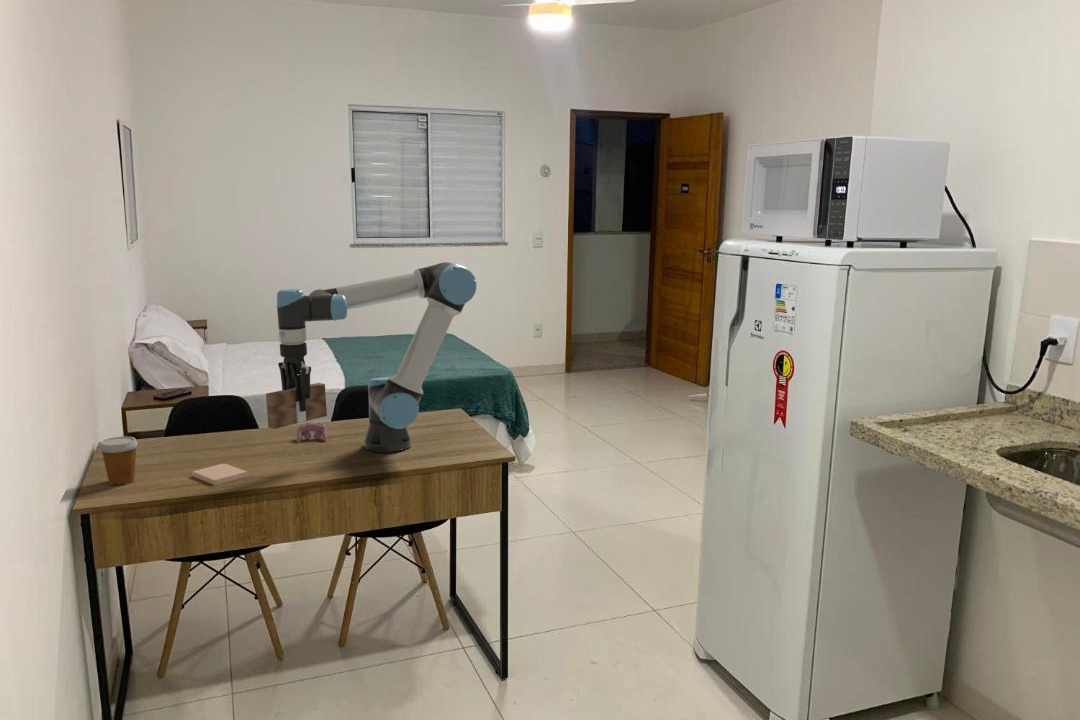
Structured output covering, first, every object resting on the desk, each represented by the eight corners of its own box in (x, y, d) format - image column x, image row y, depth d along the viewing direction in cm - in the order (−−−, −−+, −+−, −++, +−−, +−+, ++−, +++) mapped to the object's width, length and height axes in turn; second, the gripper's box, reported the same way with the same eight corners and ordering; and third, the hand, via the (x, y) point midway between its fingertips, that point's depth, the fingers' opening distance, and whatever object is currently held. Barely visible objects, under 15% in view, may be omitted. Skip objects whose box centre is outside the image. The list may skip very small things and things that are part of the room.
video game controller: (328, 443, 269) (328, 422, 271) (326, 440, 265) (327, 420, 266) (297, 444, 267) (297, 423, 269) (296, 441, 263) (296, 421, 265)
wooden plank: (320, 414, 243) (319, 382, 241) (326, 416, 241) (324, 384, 239) (268, 427, 230) (265, 393, 228) (274, 429, 228) (271, 395, 226)
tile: (224, 463, 237) (192, 471, 229) (247, 471, 229) (214, 480, 222) (224, 469, 237) (192, 478, 229) (247, 478, 230) (215, 487, 222)
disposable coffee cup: (132, 487, 219) (128, 445, 217) (96, 487, 219) (92, 445, 216) (146, 475, 229) (143, 435, 226) (112, 476, 228) (108, 436, 226)
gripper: (266, 341, 233) (271, 418, 237) (297, 347, 223) (302, 428, 227) (288, 338, 239) (293, 413, 243) (320, 343, 229) (324, 422, 233)
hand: (297, 420), depth 235 cm, fingers closed on wooden plank, 3 cm apart
